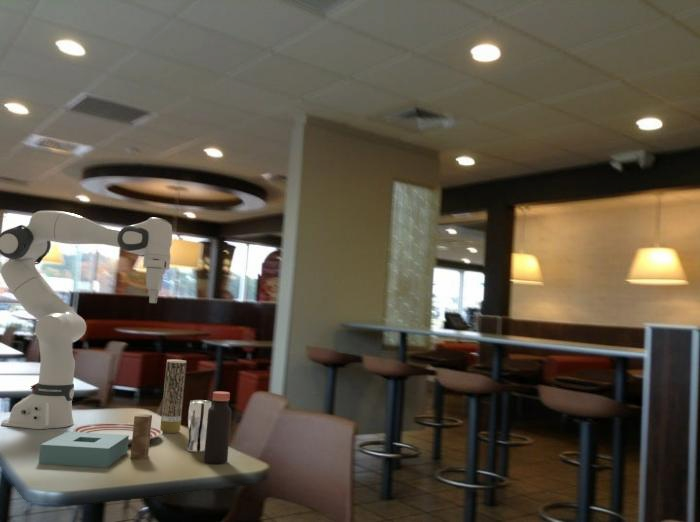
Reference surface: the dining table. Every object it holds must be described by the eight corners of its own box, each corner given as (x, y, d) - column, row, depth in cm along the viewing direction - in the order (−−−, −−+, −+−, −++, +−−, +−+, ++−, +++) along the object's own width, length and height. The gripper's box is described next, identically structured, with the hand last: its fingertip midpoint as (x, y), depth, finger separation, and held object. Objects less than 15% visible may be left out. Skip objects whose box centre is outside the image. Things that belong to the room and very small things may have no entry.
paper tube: (182, 431, 219) (189, 360, 221) (175, 434, 212) (182, 361, 214) (164, 429, 220) (171, 359, 222) (156, 432, 213) (163, 360, 215)
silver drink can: (187, 447, 195) (191, 399, 196) (209, 448, 196) (213, 400, 197) (183, 452, 188) (187, 402, 189) (205, 453, 189) (210, 403, 190)
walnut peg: (130, 458, 176) (134, 416, 177) (134, 455, 180) (138, 413, 181) (144, 459, 176) (148, 417, 177) (148, 456, 180) (152, 414, 181)
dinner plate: (138, 428, 219) (139, 419, 219) (177, 444, 199) (178, 433, 199) (58, 435, 200) (60, 425, 200) (92, 453, 180) (93, 441, 180)
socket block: (38, 463, 164) (40, 444, 165) (65, 448, 182) (67, 431, 182) (106, 467, 165) (108, 448, 165) (127, 452, 183) (128, 435, 183)
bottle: (207, 458, 183) (213, 390, 185) (229, 459, 183) (235, 392, 184) (200, 463, 176) (207, 393, 178) (224, 465, 176) (230, 394, 178)
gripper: (149, 265, 225) (146, 302, 224) (144, 261, 205) (140, 302, 204) (167, 266, 226) (164, 303, 225) (164, 262, 206) (160, 303, 205)
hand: (153, 303), depth 214 cm, fingers open, 8 cm apart
